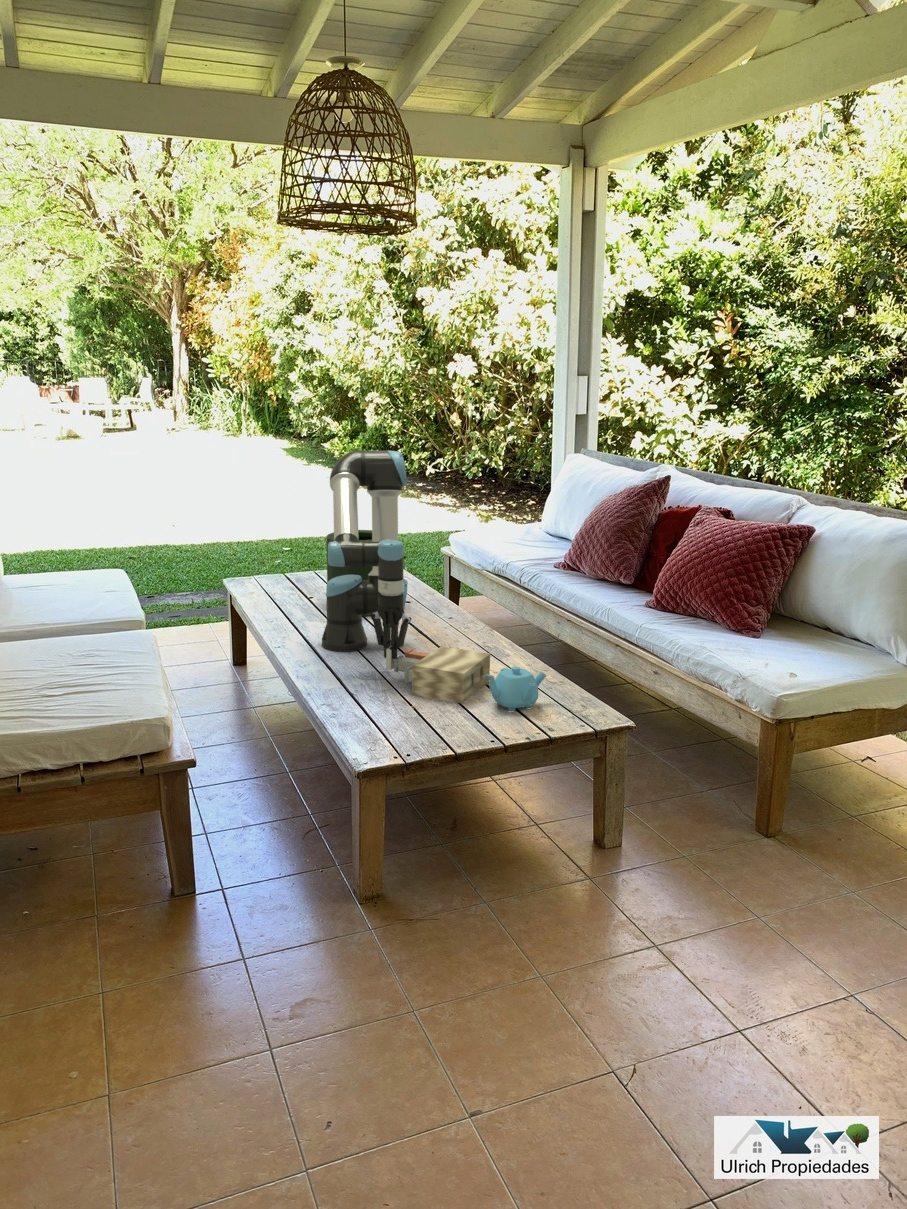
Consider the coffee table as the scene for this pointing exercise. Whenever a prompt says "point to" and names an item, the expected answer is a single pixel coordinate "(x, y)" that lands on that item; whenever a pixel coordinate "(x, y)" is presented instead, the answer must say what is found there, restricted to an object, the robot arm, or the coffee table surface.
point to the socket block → (450, 674)
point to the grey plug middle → (403, 663)
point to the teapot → (515, 687)
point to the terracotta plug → (415, 654)
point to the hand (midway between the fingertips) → (390, 668)
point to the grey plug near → (408, 674)
